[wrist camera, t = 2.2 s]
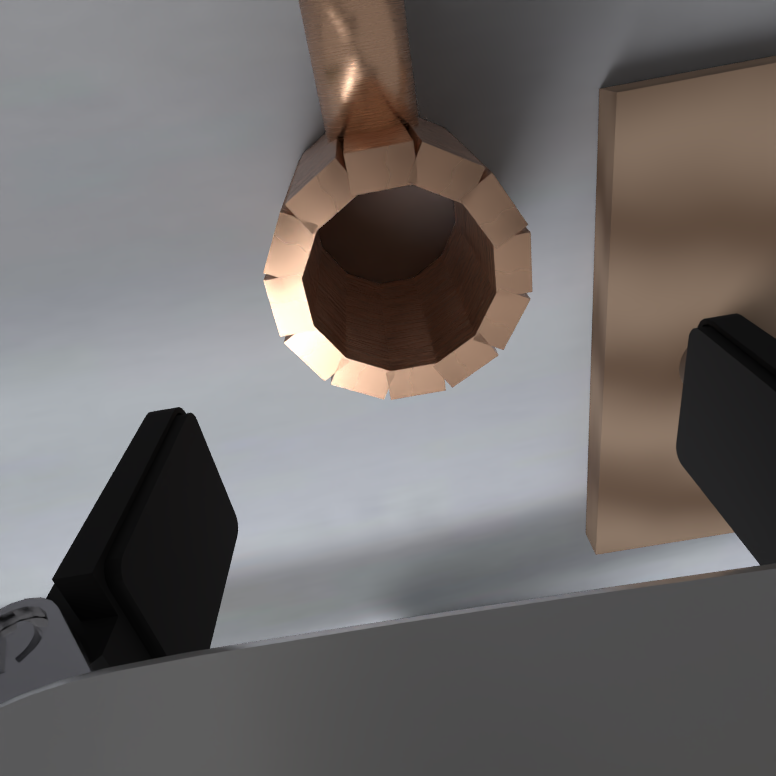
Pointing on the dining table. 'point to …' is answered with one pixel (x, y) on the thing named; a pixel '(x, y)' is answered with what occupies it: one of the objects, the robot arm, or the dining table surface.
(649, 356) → the duct board
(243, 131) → the dining table surface
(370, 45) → the wooden stave mug
